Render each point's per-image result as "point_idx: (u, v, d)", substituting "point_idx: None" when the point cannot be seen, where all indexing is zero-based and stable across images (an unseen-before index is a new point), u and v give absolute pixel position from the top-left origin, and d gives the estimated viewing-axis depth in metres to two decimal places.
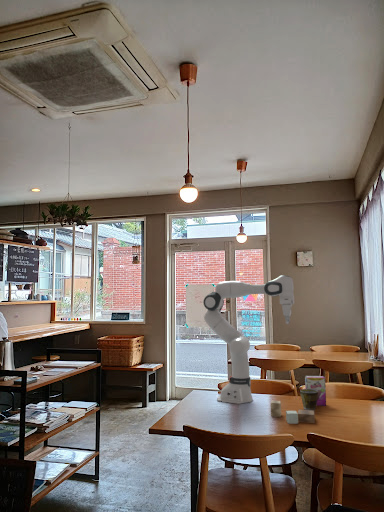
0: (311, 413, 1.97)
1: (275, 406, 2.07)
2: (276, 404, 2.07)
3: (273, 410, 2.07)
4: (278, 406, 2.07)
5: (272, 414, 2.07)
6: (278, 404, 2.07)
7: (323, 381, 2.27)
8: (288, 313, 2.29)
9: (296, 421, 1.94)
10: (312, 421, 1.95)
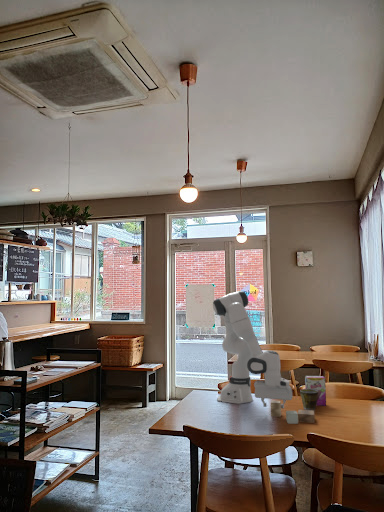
0: (311, 413, 1.97)
1: (275, 406, 2.07)
2: (276, 404, 2.07)
3: (273, 410, 2.07)
4: (278, 406, 2.07)
5: (272, 414, 2.07)
6: (278, 404, 2.07)
7: (323, 381, 2.27)
8: None
9: (296, 421, 1.94)
10: (312, 421, 1.95)
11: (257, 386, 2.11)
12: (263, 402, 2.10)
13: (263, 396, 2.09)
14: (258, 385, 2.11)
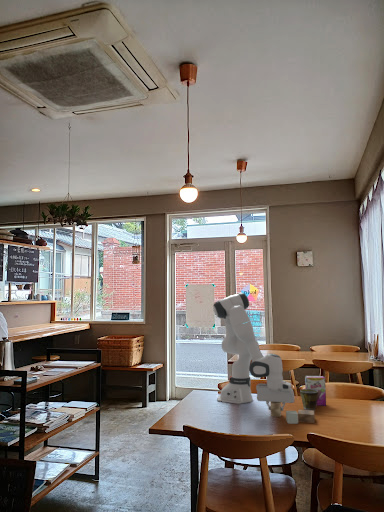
0: (311, 413, 1.97)
1: (275, 406, 2.07)
2: (276, 404, 2.07)
3: (273, 410, 2.07)
4: (278, 406, 2.07)
5: (272, 414, 2.07)
6: (278, 404, 2.07)
7: (323, 381, 2.27)
8: None
9: (296, 421, 1.94)
10: (312, 421, 1.95)
11: (259, 389, 2.11)
12: (268, 405, 2.10)
13: (265, 399, 2.10)
14: (260, 388, 2.11)
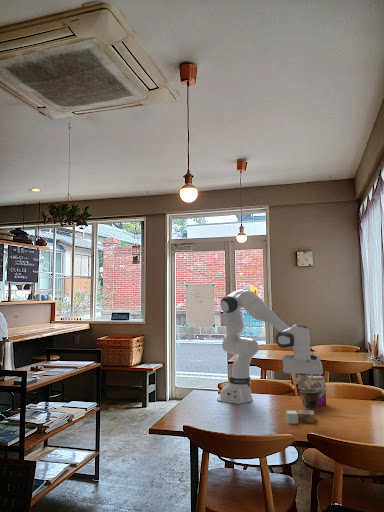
0: (311, 413, 1.97)
1: (303, 378, 1.99)
2: (304, 376, 1.99)
3: (301, 382, 1.99)
4: (306, 378, 1.99)
5: (299, 386, 1.99)
6: (306, 376, 1.99)
7: (323, 381, 2.27)
8: None
9: (296, 421, 1.94)
10: (312, 421, 1.95)
11: (286, 361, 2.03)
12: (295, 377, 2.02)
13: (292, 371, 2.02)
14: (287, 360, 2.03)
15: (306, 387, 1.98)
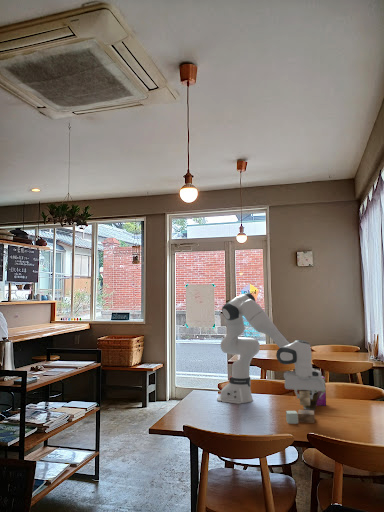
0: (311, 413, 1.97)
1: (304, 394, 1.98)
2: (305, 392, 1.98)
3: (302, 399, 1.98)
4: (307, 394, 1.98)
5: (301, 403, 1.98)
6: (307, 392, 1.98)
7: None
8: None
9: (296, 421, 1.94)
10: (312, 421, 1.95)
11: (287, 377, 2.03)
12: (297, 394, 2.01)
13: (294, 387, 2.01)
14: (288, 376, 2.02)
15: (308, 404, 1.97)
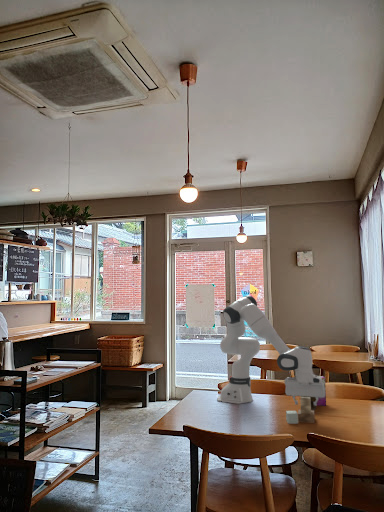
0: (311, 413, 1.97)
1: (305, 402, 1.98)
2: (306, 400, 1.98)
3: (303, 407, 1.98)
4: (308, 402, 1.98)
5: (302, 411, 1.98)
6: (308, 400, 1.98)
7: (323, 381, 2.27)
8: None
9: (296, 421, 1.94)
10: (312, 421, 1.95)
11: (288, 383, 2.02)
12: (294, 400, 2.01)
13: (295, 394, 2.01)
14: (289, 382, 2.02)
15: (309, 412, 1.97)
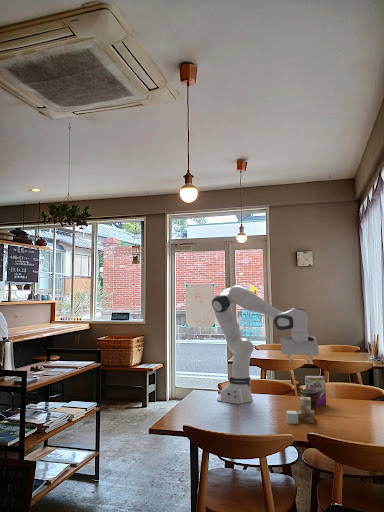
0: (311, 413, 1.97)
1: (305, 402, 1.98)
2: (306, 400, 1.98)
3: (303, 407, 1.98)
4: (308, 402, 1.98)
5: (302, 411, 1.98)
6: (308, 400, 1.98)
7: (323, 381, 2.27)
8: None
9: (296, 421, 1.94)
10: (312, 421, 1.95)
11: (284, 342, 2.11)
12: (289, 358, 2.10)
13: (290, 352, 2.10)
14: (285, 341, 2.11)
15: (309, 412, 1.97)
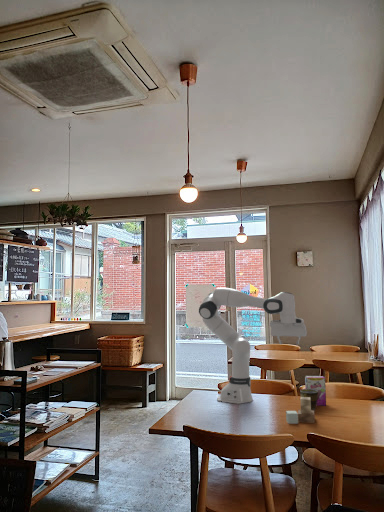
0: (311, 413, 1.97)
1: (305, 402, 1.98)
2: (306, 400, 1.98)
3: (303, 407, 1.98)
4: (308, 402, 1.98)
5: (302, 411, 1.98)
6: (308, 400, 1.98)
7: (323, 381, 2.27)
8: None
9: (296, 421, 1.94)
10: (312, 421, 1.95)
11: (273, 325, 2.21)
12: (279, 340, 2.20)
13: (279, 334, 2.20)
14: (274, 324, 2.21)
15: (309, 412, 1.97)
